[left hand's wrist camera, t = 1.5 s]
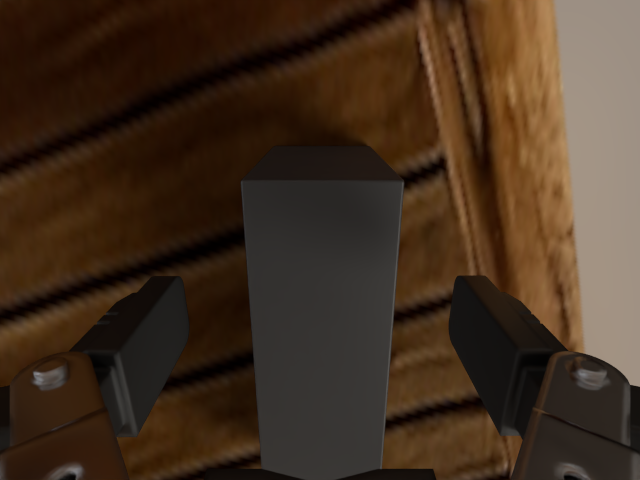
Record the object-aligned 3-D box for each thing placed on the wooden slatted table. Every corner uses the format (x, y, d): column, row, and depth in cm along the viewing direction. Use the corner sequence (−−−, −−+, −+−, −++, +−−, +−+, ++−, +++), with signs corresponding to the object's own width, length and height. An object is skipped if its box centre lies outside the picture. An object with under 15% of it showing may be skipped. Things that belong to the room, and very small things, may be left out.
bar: (273, 145, 21) (239, 180, 12) (370, 145, 21) (404, 180, 12) (286, 450, 29) (270, 602, 21) (356, 451, 29) (371, 602, 21)
